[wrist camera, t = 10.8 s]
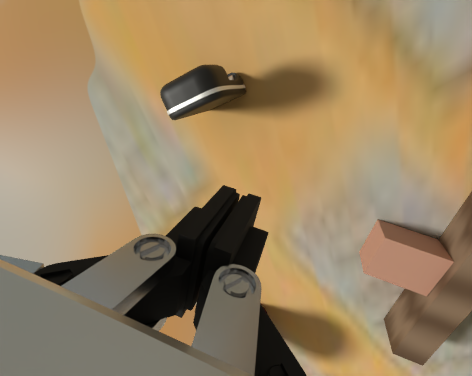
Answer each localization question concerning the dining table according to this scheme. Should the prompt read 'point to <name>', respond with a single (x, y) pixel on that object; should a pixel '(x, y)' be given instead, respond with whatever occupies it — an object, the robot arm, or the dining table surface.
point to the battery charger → (200, 91)
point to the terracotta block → (404, 257)
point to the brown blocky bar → (436, 298)
